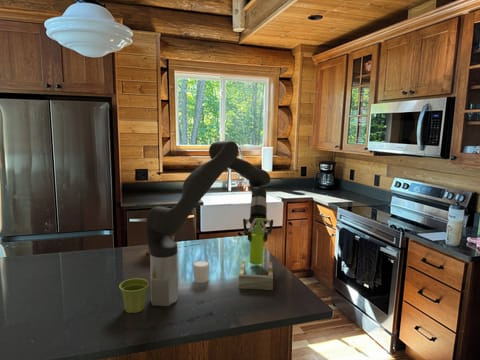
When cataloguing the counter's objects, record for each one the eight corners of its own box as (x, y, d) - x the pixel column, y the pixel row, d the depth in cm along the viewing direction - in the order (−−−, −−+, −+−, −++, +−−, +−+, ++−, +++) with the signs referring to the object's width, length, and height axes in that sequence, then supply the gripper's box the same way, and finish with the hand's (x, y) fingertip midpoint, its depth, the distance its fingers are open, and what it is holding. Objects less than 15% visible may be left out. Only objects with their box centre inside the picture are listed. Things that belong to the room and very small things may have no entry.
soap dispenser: (265, 265, 146) (268, 220, 143) (249, 264, 146) (251, 220, 143) (264, 259, 152) (267, 217, 149) (249, 259, 152) (251, 216, 149)
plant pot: (138, 298, 118) (138, 275, 117) (155, 308, 113) (154, 283, 111) (114, 309, 111) (113, 284, 110) (130, 319, 105) (129, 293, 104)
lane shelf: (272, 289, 127) (273, 277, 127) (238, 288, 128) (238, 275, 127) (271, 270, 145) (271, 259, 144) (241, 269, 145) (241, 258, 145)
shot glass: (189, 281, 133) (189, 264, 132) (199, 275, 139) (199, 258, 138) (203, 285, 130) (203, 268, 129) (213, 278, 136) (213, 262, 135)
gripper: (242, 203, 153) (240, 236, 143) (274, 204, 152) (274, 238, 142) (243, 211, 159) (241, 244, 149) (273, 213, 158) (273, 245, 148)
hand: (257, 241), depth 146 cm, fingers closed on soap dispenser, 6 cm apart
